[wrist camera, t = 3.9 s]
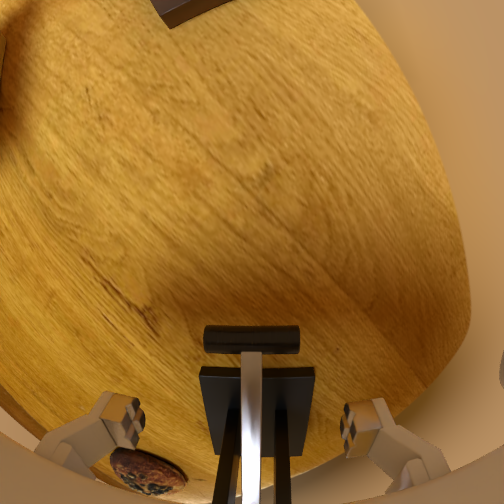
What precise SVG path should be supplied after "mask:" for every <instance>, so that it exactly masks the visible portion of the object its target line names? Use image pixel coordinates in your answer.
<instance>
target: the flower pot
mask: <svg viewBox="0 0 504 504" xmlns="http://www.w3.org/2000/svg"><path fill="white" fill-rule="evenodd" d="M5 46H6V38H5V37H4V36H3V34H2V33H1V31H0V81H1V72H2V64H3V58H4V51H5Z"/></svg>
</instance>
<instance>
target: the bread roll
mask: <svg viewBox="0 0 504 504" xmlns="http://www.w3.org/2000/svg"><path fill="white" fill-rule="evenodd" d="M110 464H111V466H112V468H113V470H114V472H115V474H116V475H117V476H118V477H119V478H120V479H121V480H122V481H124V483H126V484H128V486H129V487H130V488H132V489H133V490H134V489H136V490H137V491H139V492H141V493H143V494H147V495H155V496H158V495H161V494H164V495H170V494H174V493H177V492H180V491H181V490H183V489H184V488H185V486H187V483H186V481H185V479H184V477H183V474H181V473H179V472H178V471H177V470H176V469H175V468H174V467H173V466H171V465H169V464H167V463H165V462H163V461H161V460H158V459H156V458H154V457H151V456H150V455H145V454H144V453H141V452H139V451H135V450H133V449H128V448H124V447H123V448H122V447H121V448H118V449H116V450H115V451H114V452H113V453H112V454H111V456H110Z"/></svg>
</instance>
